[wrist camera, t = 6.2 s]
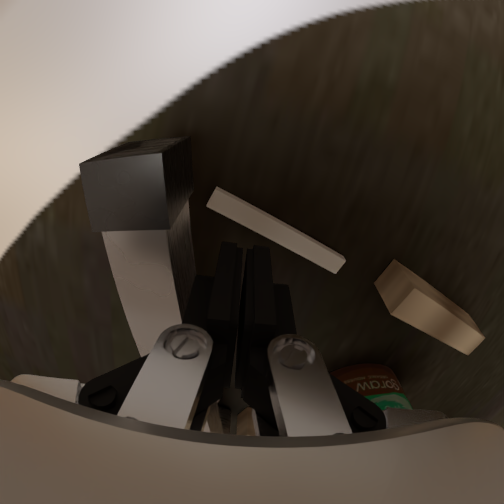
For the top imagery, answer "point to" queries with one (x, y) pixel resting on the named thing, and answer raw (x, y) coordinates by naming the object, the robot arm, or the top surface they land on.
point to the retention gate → (148, 236)
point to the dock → (412, 318)
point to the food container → (374, 384)
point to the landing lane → (274, 230)
